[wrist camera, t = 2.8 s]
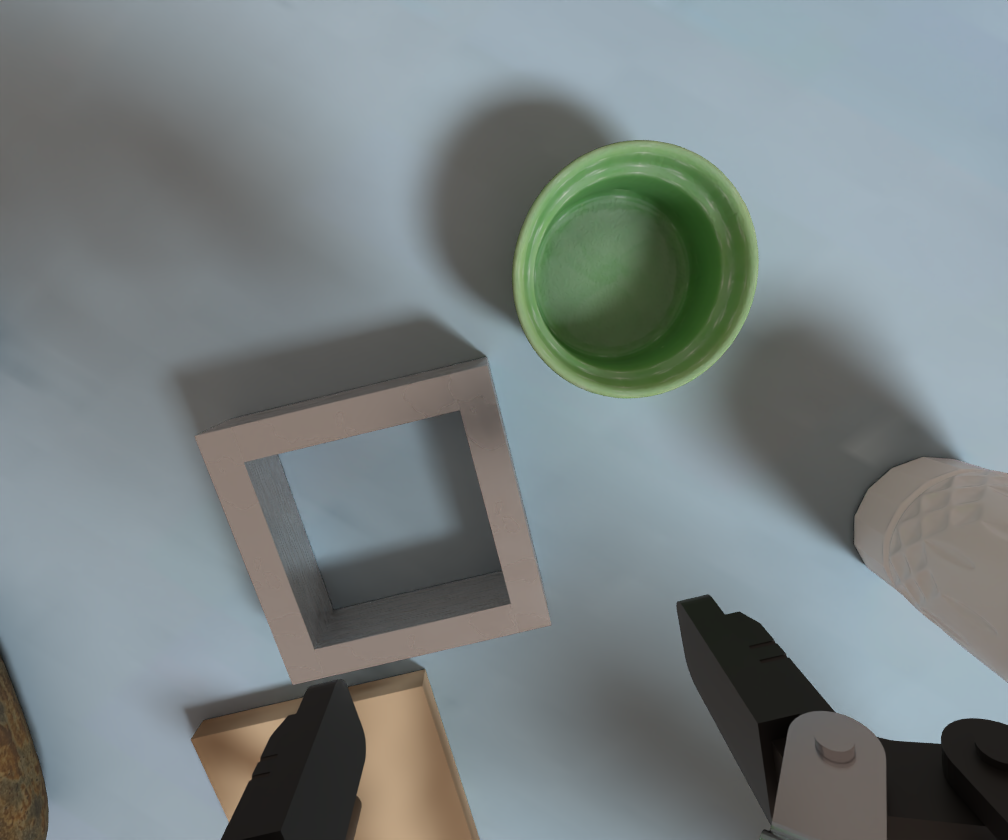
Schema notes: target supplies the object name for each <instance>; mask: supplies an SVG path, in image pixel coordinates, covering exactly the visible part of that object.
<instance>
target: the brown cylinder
mask: <svg viewBox="0 0 1008 840" xmlns="http://www.w3.org/2000/svg"><path fill="white" fill-rule="evenodd" d="M48 812H49V810H48V798H47V793H46V788H45V782H44V778H43V774H42V770H41V766H40V763H39V760H38V756H37V754H36V751H35V748H34V745H33V741H32V738H31V735H30V732H29V729H28V726H27V723H26V720H25V718H24V715H23V712H22V709H21V706H20V704H19V702H18V699H17V697H16V694H15V691H14V688H13V685H12V682H11V680H10V678H9V675H8V673H7V670H6V667H5V665H4V662H3V660H2V658H1V656H0V840H46V837H47V831H48Z"/></svg>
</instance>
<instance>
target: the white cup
mask: <svg viewBox="0 0 1008 840" xmlns="http://www.w3.org/2000/svg"><path fill="white" fill-rule="evenodd" d="M854 545H855V547H856V549H857V550H858V552H859V554H860V556H861V558H862V559H863V561H864V563H865V565H866V566H867V568H868V569H870V570H871V571H872V572H873V573H875V574H876V575H877V576H879V577H880V578H881V579H883V580H884V581H885V582H886V583H888V584H889V585H890V586H892V587H893V588H894V589H896V590H897V591H898V592H899V593H901V594H902V595H903V596H904V597H905V598H906V599H907V600H908V601H909V602H910V603H911V604H912V605H913V606H914V607H915V608H916V609H917V610H918V611H919V612H921V613H922V614H923V615H924V616H925V617H927V618H928V619H929V620H930V621H932V622H933V623H934V624H936V625H937V626H938V627H940V628H941V629H942V630H943V631H944V632H945V633H946V634H947V635H949V636H950V637H951V638H952V639H953V640H954V641H956V642H957V643H958V644H959V645H960V646H962V647H963V648H964V649H965V650H967V651H968V652H969V653H970V654H972V655H973V656H974V657H975V658H977V659H978V660H979V661H981V662H982V663H983V664H984V665H986V666H987V667H988V668H989V669H991V670H992V671H993V672H994V673H996V674H997V675H998V676H1000V677H1001V678H1002V679H1003V680H1005V681H1006V682H1007V683H1008V473H1004V472H999V471H993V470H989V469H985V468H982V467H979V466H975V465H972V464H969V463H965V462H962V461H959V460H955V459H946V458H932V457H921V458H918V459H915V460H912V461H910V462H907V463H904V464H902V465H899V466H896V467H893V468H891V469H890V470H889V471H888V472H887V473H886V474H885V475H883V476H882V477H881V478H880V479H879V480H878V481H877V482H876V483H874V484H873V485H872V486H871V487H870V488H869V489H868V490H867V492H866V494H865V496H864V498H863V500H862V502H861V504H860V506H859V508H858V510H857V512H856V514H855V517H854Z"/></svg>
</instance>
